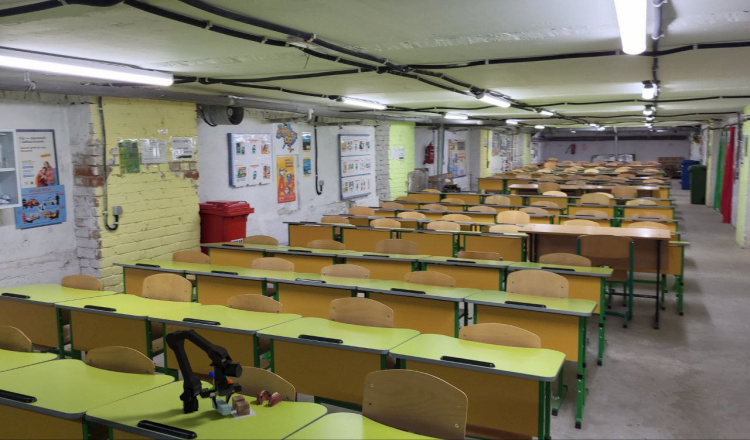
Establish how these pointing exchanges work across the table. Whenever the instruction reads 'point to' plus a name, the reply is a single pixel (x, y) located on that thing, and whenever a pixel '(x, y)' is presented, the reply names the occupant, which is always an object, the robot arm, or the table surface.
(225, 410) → the light blue block
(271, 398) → the teeth model
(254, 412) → the mat
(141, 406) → the table surface
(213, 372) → the molecular model
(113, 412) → the table surface
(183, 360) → the robot arm
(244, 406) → the post
